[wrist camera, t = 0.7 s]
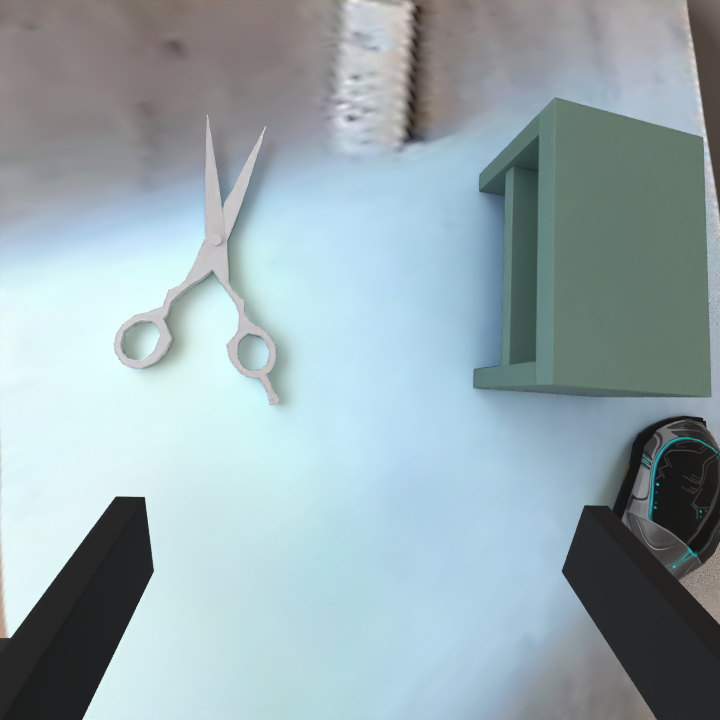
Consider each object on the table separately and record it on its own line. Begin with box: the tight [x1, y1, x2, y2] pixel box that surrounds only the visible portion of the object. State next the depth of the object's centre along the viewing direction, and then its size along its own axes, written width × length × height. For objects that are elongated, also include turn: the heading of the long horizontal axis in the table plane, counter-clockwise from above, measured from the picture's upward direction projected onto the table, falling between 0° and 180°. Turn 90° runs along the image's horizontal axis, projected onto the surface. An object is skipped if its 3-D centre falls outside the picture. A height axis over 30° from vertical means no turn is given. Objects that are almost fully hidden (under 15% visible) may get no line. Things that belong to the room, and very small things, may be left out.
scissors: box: [114, 114, 279, 405], centre depth 27 cm, size 11×1×20 cm
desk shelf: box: [473, 98, 711, 397], centre depth 30 cm, size 18×12×9 cm, turn 176°
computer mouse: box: [613, 416, 720, 581], centre depth 32 cm, size 9×17×6 cm, turn 136°
